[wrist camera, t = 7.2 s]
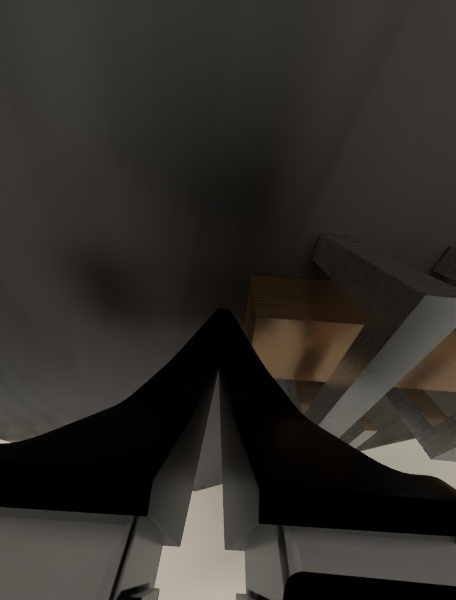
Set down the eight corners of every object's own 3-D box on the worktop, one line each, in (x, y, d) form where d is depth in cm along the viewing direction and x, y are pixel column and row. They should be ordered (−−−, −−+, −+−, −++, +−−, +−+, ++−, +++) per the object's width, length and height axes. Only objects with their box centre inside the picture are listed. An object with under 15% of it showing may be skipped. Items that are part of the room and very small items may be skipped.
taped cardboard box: (244, 326, 11) (246, 376, 8) (251, 274, 9) (256, 316, 6) (431, 339, 11) (502, 395, 8) (479, 289, 9) (597, 339, 6)
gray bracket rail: (270, 376, 14) (284, 466, 10) (321, 234, 8) (425, 295, 4) (358, 385, 14) (414, 478, 10) (476, 249, 8) (779, 329, 4)
